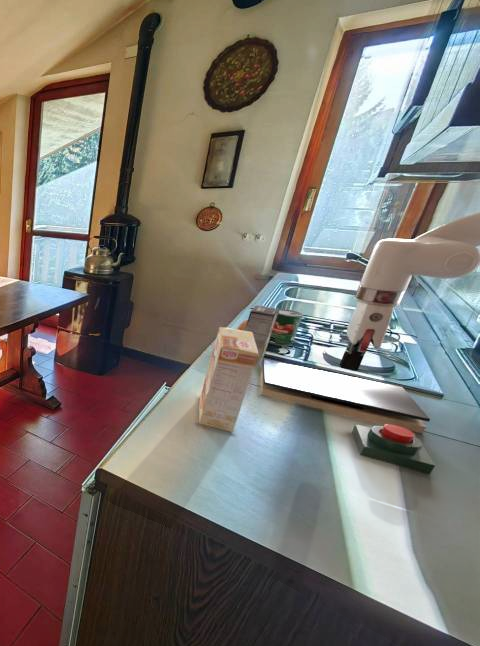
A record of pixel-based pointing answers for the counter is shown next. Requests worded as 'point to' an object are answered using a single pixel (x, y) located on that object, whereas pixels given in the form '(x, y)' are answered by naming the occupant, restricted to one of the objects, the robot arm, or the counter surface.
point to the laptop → (341, 407)
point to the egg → (242, 326)
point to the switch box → (392, 449)
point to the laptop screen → (342, 389)
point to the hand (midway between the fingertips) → (348, 368)
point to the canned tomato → (285, 327)
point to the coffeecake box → (227, 378)
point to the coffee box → (261, 327)
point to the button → (397, 433)
